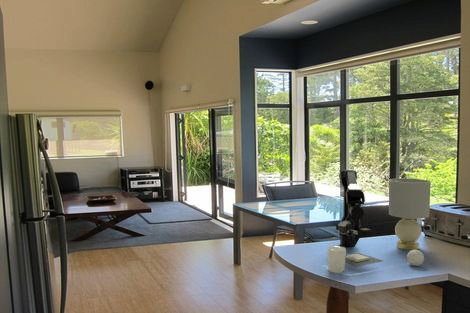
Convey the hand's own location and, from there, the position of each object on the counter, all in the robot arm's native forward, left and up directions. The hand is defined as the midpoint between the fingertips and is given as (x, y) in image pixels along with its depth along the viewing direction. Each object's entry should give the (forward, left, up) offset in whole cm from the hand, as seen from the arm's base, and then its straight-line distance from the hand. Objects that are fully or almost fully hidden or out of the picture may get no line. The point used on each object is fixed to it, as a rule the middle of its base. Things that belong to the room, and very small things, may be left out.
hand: (353, 247), depth 229 cm
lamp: (-2, +41, -6) cm, 41 cm away
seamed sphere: (+21, +16, -6) cm, 27 cm away
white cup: (+10, -20, -6) cm, 23 cm away
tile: (-1, 0, -4) cm, 5 cm away
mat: (+3, 0, -6) cm, 6 cm away
